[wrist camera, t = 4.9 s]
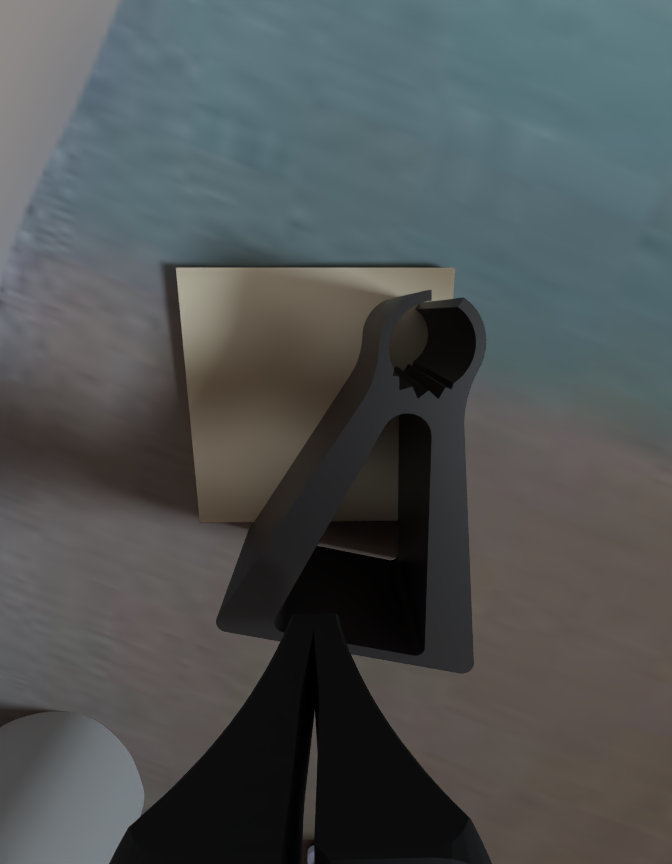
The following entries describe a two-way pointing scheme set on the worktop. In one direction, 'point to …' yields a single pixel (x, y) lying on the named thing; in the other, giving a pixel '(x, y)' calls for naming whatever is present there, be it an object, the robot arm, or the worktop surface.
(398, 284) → the birch board
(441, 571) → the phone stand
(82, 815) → the lumpy-topped squat cylinder
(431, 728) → the worktop surface
